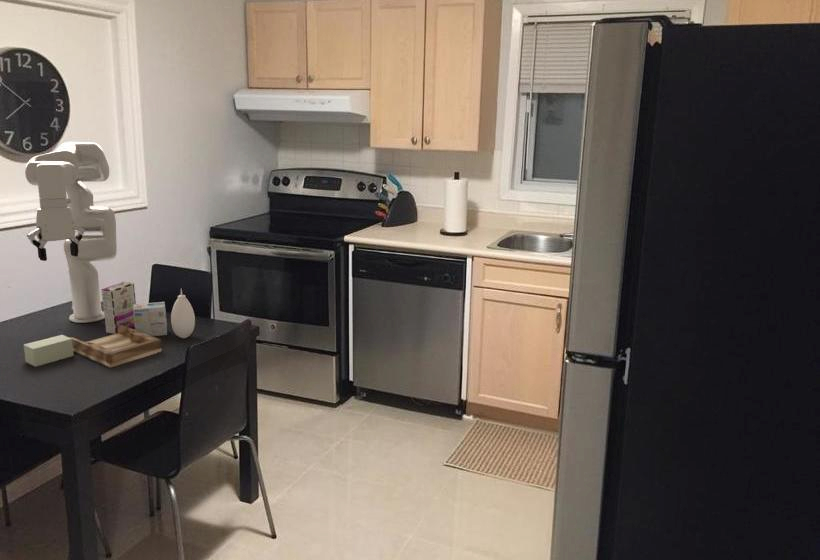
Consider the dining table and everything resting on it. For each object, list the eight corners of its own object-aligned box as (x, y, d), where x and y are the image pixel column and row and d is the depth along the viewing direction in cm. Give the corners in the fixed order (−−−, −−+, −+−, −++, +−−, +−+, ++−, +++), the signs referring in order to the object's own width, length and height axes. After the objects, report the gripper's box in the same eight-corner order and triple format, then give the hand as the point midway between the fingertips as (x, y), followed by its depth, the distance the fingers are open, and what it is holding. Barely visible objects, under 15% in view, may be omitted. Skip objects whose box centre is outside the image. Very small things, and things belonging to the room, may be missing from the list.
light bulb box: (167, 329, 238) (165, 301, 235) (167, 335, 232) (165, 306, 229) (135, 332, 234) (133, 303, 232) (135, 338, 228) (132, 308, 226)
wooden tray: (70, 349, 216) (68, 337, 215) (121, 335, 230) (120, 324, 229) (110, 367, 203) (109, 354, 202) (161, 351, 217) (160, 339, 216)
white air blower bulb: (198, 333, 234) (195, 285, 230) (192, 341, 227) (189, 291, 222) (176, 333, 234) (173, 285, 230) (169, 341, 227) (165, 291, 222)
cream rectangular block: (25, 362, 205) (23, 344, 204) (64, 351, 214) (62, 334, 213) (35, 367, 202) (32, 349, 200) (73, 356, 211) (71, 338, 210)
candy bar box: (127, 323, 243) (123, 281, 238) (138, 325, 241) (135, 282, 237) (104, 333, 232) (100, 288, 228) (116, 335, 231) (112, 290, 227)
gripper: (75, 201, 212) (80, 253, 215) (18, 205, 198) (24, 260, 202) (87, 202, 207) (92, 255, 211) (30, 207, 194) (36, 263, 197)
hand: (59, 258), depth 206 cm, fingers open, 9 cm apart
